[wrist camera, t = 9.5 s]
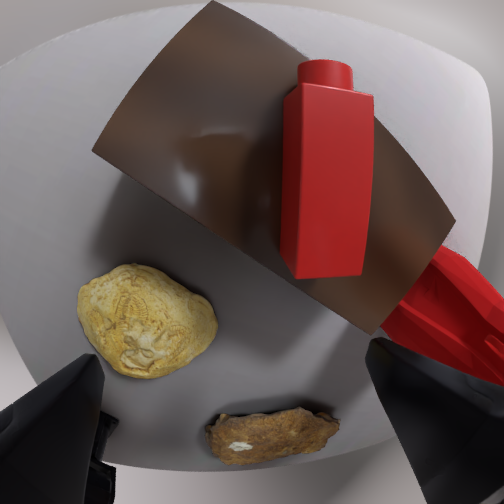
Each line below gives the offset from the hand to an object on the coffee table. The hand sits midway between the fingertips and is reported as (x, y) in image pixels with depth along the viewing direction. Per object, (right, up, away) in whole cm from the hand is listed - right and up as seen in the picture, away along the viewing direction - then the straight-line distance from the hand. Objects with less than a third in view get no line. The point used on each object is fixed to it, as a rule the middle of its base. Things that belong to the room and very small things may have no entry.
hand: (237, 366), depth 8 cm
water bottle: (+15, 0, +15) cm, 21 cm away
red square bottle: (+3, +7, +4) cm, 8 cm away
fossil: (-8, -2, +13) cm, 15 cm away
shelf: (+2, +9, +10) cm, 14 cm away
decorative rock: (+3, -16, +19) cm, 25 cm away
